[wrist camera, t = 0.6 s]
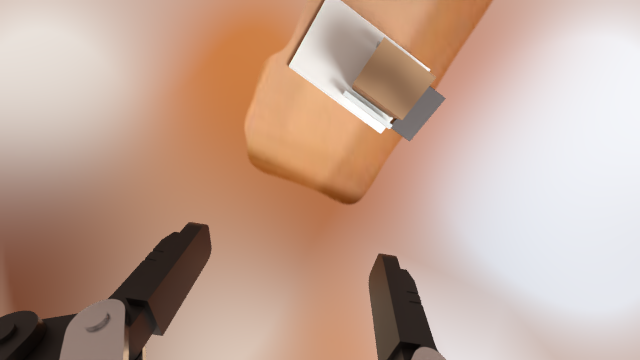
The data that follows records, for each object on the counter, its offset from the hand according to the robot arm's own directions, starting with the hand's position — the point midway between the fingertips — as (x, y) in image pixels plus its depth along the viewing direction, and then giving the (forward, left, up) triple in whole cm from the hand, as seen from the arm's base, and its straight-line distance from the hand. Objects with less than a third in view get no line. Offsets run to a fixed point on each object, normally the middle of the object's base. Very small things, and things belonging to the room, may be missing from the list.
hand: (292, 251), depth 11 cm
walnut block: (-11, +1, -25) cm, 27 cm away
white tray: (-11, -2, -25) cm, 28 cm away
